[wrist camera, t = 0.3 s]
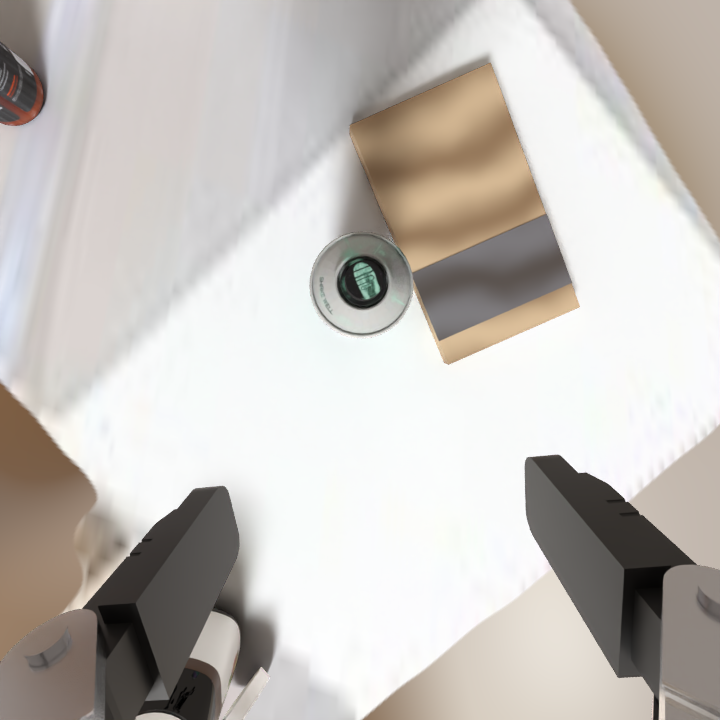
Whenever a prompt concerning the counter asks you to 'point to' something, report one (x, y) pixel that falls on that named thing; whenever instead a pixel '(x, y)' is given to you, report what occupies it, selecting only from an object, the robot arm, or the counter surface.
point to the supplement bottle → (18, 89)
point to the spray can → (361, 285)
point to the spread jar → (209, 678)
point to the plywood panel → (465, 213)
